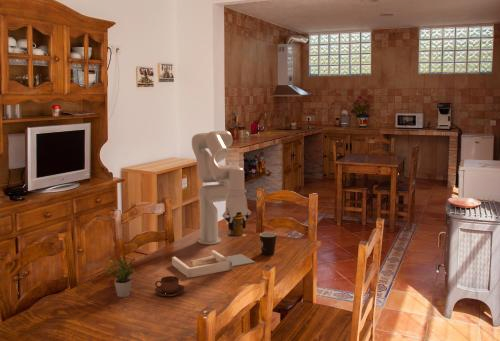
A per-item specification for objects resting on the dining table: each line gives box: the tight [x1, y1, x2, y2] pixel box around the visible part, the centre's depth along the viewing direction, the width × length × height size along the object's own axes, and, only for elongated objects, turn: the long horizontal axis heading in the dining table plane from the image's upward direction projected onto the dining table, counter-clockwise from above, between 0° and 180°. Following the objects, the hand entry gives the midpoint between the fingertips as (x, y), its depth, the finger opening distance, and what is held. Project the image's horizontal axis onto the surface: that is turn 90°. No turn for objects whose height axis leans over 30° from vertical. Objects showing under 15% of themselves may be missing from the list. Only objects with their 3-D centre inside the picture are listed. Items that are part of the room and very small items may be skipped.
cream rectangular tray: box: [171, 249, 233, 279], centre depth 256 cm, size 20×22×4 cm
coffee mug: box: [259, 231, 277, 256], centre depth 278 cm, size 12×9×10 cm
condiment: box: [224, 212, 247, 239], centre depth 262 cm, size 7×8×12 cm
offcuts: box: [190, 255, 218, 267], centre depth 253 cm, size 5×14×5 cm, turn 130°
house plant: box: [104, 254, 140, 298], centre depth 223 cm, size 14×14×16 cm
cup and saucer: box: [154, 275, 185, 297], centre depth 225 cm, size 12×12×6 cm
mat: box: [225, 253, 256, 268], centre depth 265 cm, size 14×12×1 cm
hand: (237, 228), depth 263 cm, fingers closed on condiment, 6 cm apart
